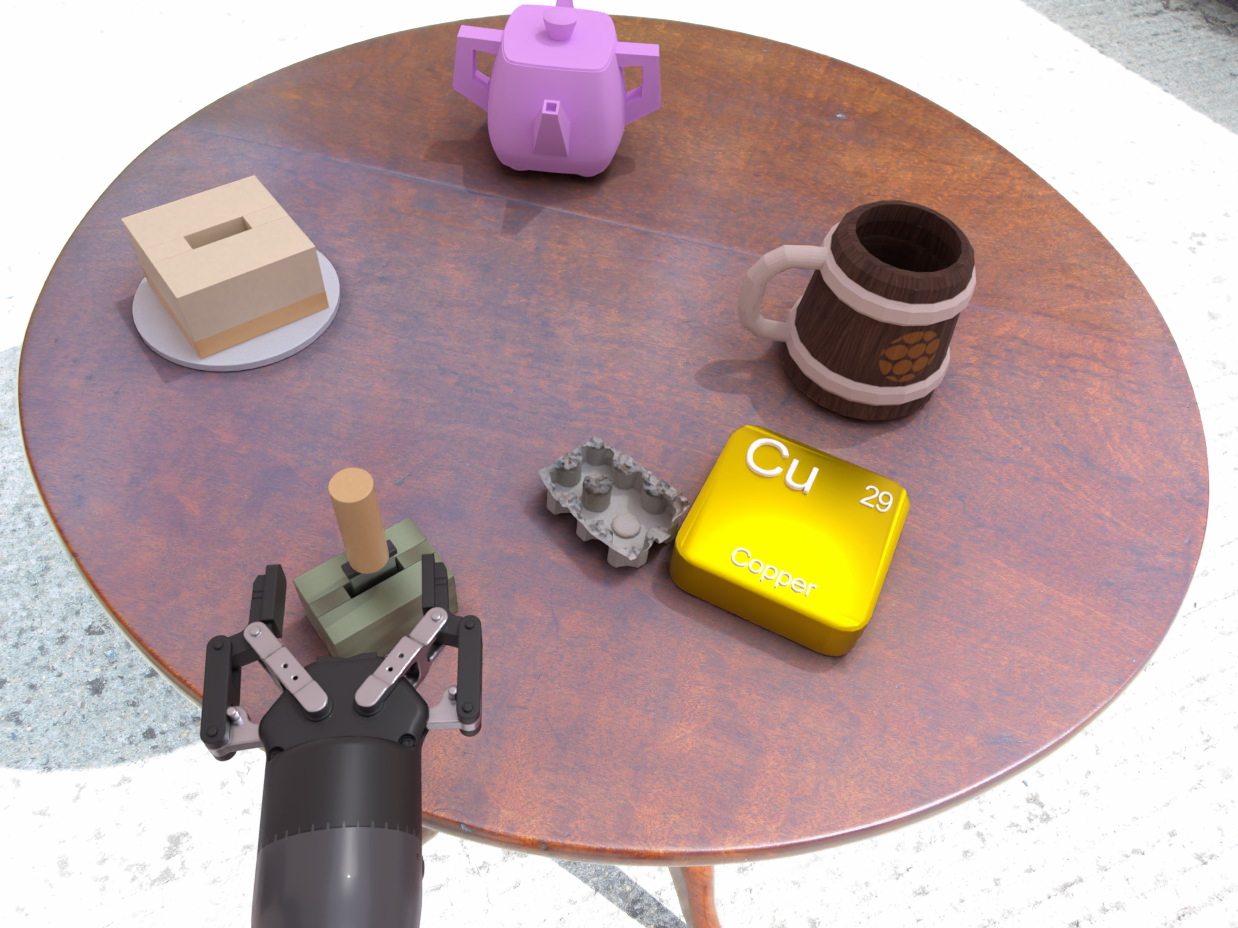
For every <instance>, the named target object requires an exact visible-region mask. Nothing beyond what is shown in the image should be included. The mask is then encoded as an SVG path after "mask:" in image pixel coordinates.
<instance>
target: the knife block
mask: <svg viewBox="0 0 1238 928" xmlns="http://www.w3.org/2000/svg"><path fill="white" fill-rule="evenodd" d="M384 532H385V537H386V541H387V540H389V539H390V540H391V542H392V543H393V544H394V546H395V547H396V549H397V554H396V555H394V558H395V563H396V567H397V572H398V573H397V574H395V575H394V576H392V577H390V578H388V579H386V580H385V581H383V582H381V583H379V584H377V585H376V586H374V587H372V588H370V589H369V590H367V591H365V592H363V593H361V594H360V595H358V596H356V597H354V595H353V592H352V588H351V585H350V582H349V579H348V578H347V577H346V575H345V574H344V572H343V571H342V568H341V565H343V564H344V563H346V562H348V557H347V554H346V550H345V551H343V552H341V553H339V554H338V555H336V556H333V557H332V558H330V559H327V560H326V561H324V562H323V563H320V564H319V565H317V566H315V567H313V568H311V569H309V570H307V571H305V572H304V573H301V574H300V575H298V576H296V577H294V578H293V579H292V582H293V585H294V588H295V590H296V593H297V596H298V599H299V601H300V603H301V606H302V609H303V611H304V613H305V616H306V618H307V619H308V621H309V622H310V624H311V625H312V627H313V629H314V630H315V632H316V633H317V635H318V636H319V638H320V640H321V641H322V642H323V644H324V646H325V647H326V649H327V651H328V652H329V654H330V656H334V657H341V658H349V657H352V656H355V655H358V654H361V653H371V652H377V655H378V656H381V657H384V656H385V655H388V654H389V653H390V652H391V651H392V650H393V649H394V647H395V646H396V645H397V644H398V642H399V641H400V640H401V639H402V638H403V637H404V636H405V635H409V634H410V633H411V632H412V630H413V629H414V628H415V627H416V626H417V624H418V623H419V622H420V621H421V619H422V618H423V617H424V616H423V611H422V554H433V553H434V557H435V563H436V562H443V563H444V565H445V567H446V569H447V575H448V587H449V610H450V612H451V613H452V614H455V613H457V612H458V611H459V607H458V606H459V605H458V604H459V603H458V595H457V589H456V579H455V574H454V573H453V571H452V570H451V569H450V568H449V566H448V564H446V563H445V561H444V560H443V558H442V557H441V556H440V554H439V553H438V552H437V550H436V549H435V548H434V546H433V545H432V544H431V542H430V541H429V540H428V539H427V538H426V536H425V534H424V533H423V532H422V530H421V529H420V528H419V527H418V525H417V524H416V523H415V522H414V520H413V519H412V517H410V516H409V517H407V518H405V519H403V520H400V521H399V522H397V523H395V524H393V525H391V526H390V527H388V528H385V529H384Z"/></svg>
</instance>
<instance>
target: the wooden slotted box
mask: <svg viewBox="0 0 1238 928" xmlns="http://www.w3.org/2000/svg"><path fill="white" fill-rule="evenodd" d="M120 220H121V222H122V225H123V227H124V230H125V232H126V234H127V237H128V239H129V241H130V244H131V246H132V249H133V251H134V253H135V256H136V259H137V260H138V263H139V266H140V268H141V271H142V273H143V275H144V277H146V280H147V282H148V283H149V285H150V286H151V288H152V289H153V290H154V292H155V293H156V295H157V296H158V298H159V299H160V301H161V302H162V304H163V305H164V306H165V308H166V309H167V311H168V312H169V314H170V315H171V317H172V318H173V320H174V321H175V323H176V324H177V325H178V327H179V328H180V330H181V331H182V333H183V334H184V336H185V337H186V339H187V340H188V341H189V343H190V344H191V346H192V347H193V349H194V350H195V352H196V353H197V355H198V356H199V358H200V359H203V358H206V357H208V356H211V355H213V354H216V353H218V352H221V351H223V350H225V349H228V348H230V347H233V346H235V345H238V344H240V343H243V342H245V341H248V340H250V339H252V338H255V337H257V336H260V335H262V334H265V333H267V332H270V331H272V330H275V329H277V328H280V327H282V326H284V325H287V324H289V323H292V322H294V321H297V320H299V319H302V318H304V317H307V316H309V315H312V314H314V313H316V312H319V311H321V310H324V309H326V308H329V304H328V300H327V295H326V291H325V287H324V282H323V278H322V273H321V269H320V264H319V260H318V255H317V251H316V249H317V246H316V245H315V244H314V243H313V242H312V241H311V239H310V238H309V237H308V236H307V234H306V233H305V232H304V231H303V230H302V229H301V228H300V226H299V225H298V224H297V223H296V221H294V220H293V218H292V217H291V216H290V215H289V214H288V213H287V211H286V210H285V209H284V208H283V206H282V205H281V204H280V203H279V202H278V201H277V200H276V199H275V197H274V196H273V195H272V194H271V193H270V192H269V190H268V189H267V188H266V186H265V185H263V183H262V182H261V181H260V179H259V178H257V176H256V175H255V174H254V175H250V176H247V177H244V178H241V179H238V180H235V181H233V182H232V181H231V182H228V183H225V184H222V185H219V186H216V187H213V188H211V189H207V190H204V191H201V192H198V193H195V194H192V195H188V196H186V197H183V198H180V199H177V200H176V199H175V200H174V201H170V202H168V203H164V204H162V205H159V206H155V207H152V208H149V209H146V210H143V211H140V212H137V213H133V214H131V215H128V216H125V217H121V219H120Z"/></svg>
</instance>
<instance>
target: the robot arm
mask: <svg viewBox="0 0 1238 928" xmlns="http://www.w3.org/2000/svg"><path fill="white" fill-rule="evenodd" d="M287 585H288V582H287V576H286V574H285V571H284V568H283V566H282V565H281V563H274V564H266V566H265V573H264V574H258V575H257V576H256V578H255V579H254V581H253V583H252V593H251V599H250V607H249V616H248V622H247V625H246V626H245V627H244V629H242V630H240V632H237V633H234V634H232V635H229V636H226V635H224V634H218V635H216V636H213V637H211V638H210V639H209V640H208V642H207V644H206V650H205V662H204V674H203V675H204V677H203V689H202V702H201V715H200V727H199V738H200V740H201V742H202V743H203V745H204V746H205V747H206V749H207V750H208V752H209V753H210V754H211V755H212V757H213V758H214V759H215V760H216V761H218V762H227V761H229V760H231V759H233V758H234V757H235V755H236V754H237V752H241V751H247V750H252V749H260V748H264V752H265V768H264V774H263V775H264V776H263V785H262V796H261V797H262V798H261V806H260V818H259V828H258V838H257V848H256V860H255V861H256V862H255V869H254V881H253V889H252V890H253V892H252V901H251V916H250V917H251V918H250V928H420V927H421V919H422V908H423V879H424V878H425V869H426V868H425V860H424V856H423V794H422V793H423V791H422V790H423V787H422V785H423V784H422V783H423V782H422V772H423V771H422V751H423V745H424V742H425V739H426V737H427V735H428V734H429V732H430V731H446V730H447V731H449V730H459V732H460V734H461V735H462V736H464V737H468V738H473V737H475V736H477V735H478V734H479V733H480V732H481V729H482V727H483V726H482V723H483V722H482V720H483V719H482V717H483V660H484V659H483V656H484V655H483V653H484V652H483V651H484V650H483V649H484V643H483V630H482V629H483V627H482V621H481V619H480V618H479V617H478V616H476V615H474V614H468V615H465V616H460V615H456V614H455V613H453V614H452V613H451V612H450V610H449V587H448V575H447V569H446V567H445V565H444V563H443V562H436V563H435V557H434V553H433V554H422V611H423V616H424V617H423V618H422V619H421V621H420V622H419V623H418V624H417V626H416V627H415V628H414V629H413V630H412V632H411V633H410V634H409V635H405V636H404V637H403V638H402V639H401V640H400V641H399V642H398V644H397V645H396V646H395V647H394V649H393V650H392V651H390V652H388V654H387V656H386V657H384V656H382V657H381V656H378V655H377V652H371V653H361V654H358V655H355V656H352V657H349V658H341V657H334V656H332V655H327V656H315V657H316V658H315V661H313V662H311V663H309V664H308V665H306V666H305V667H303V666H302V664H301V663H300V662H299V660H298V659H297V657H295V656H294V654H292V652H291V651H290V650H289V648H287V647H286V645H283V644H282V643H281V641H280V640H279V639H283V630H284V621H285V620H284V619H285V610H286V599H287V588H288V586H287ZM447 646H449V647H453V648H455V649H456V648H457V669H456V684H454V685H450V686H448V687H446V688H445V689H444V690H443V692H442V696H441V699H440V701H438V703H436V704H434V705H433V706H429V704H428V702H427V701H426V700H425V698H424V697H423V696H422V695H421V693H420V692H418V690H417V689H418V688H419V687H420V685H421V684H422V683H423V681H424V680H425V679H426V677H427V676H428V674H429V672H430V669H431V667H432V664H433V663H434V662H435V661H436V660H437V658H438V657H439V655H440V654H441V653H442V651H443V650H444V649H445V648H446V647H447ZM255 662H258V664H259V665H260V667H262V669H263V670H264V671H265V672H266V673H267V675H268V676H269V677H270V678H271V680H272V681H273V683H274V684H275V686H276V687H277V688H278V690H279V691H280V692H281V694H280V695H279V697H278V698H277V699H276V700H275V702H273V704H272V705H271V706H270V707H269V709H268V710H267V711H266V713H264V714H263V716H262V717H261V719H260V721H259V723H255V722H253V721H252V718H251V716H250V715H249V713H248V711H247V710H246V708H245V707H243V706H242V705H241V689H242V687H241V686H242V667H244V666H247V665H249V664H253V663H255Z"/></svg>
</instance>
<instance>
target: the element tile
mask: <svg viewBox="0 0 1238 928" xmlns="http://www.w3.org/2000/svg"><path fill="white" fill-rule="evenodd" d="M910 509H911V501H910V496H909V493H908V492H907V490H906V488H904V487H903V486H902V485H901V484H899V482H897V481H896V480H893V479H891V478H889V477H887V476H885V475H883V474H880V473H877V472H875V471H872V470H870V469H867V468H865V467H862V466H860V465H858V464H855V463H853V462H850V461H848V460H845V459H843V458H840V457H838V456H835V455H833V454H831V453H828V452H826V451H824V450H821V449H818V448H816V447H814V446H811V445H809V444H807V443H804V442H801V441H799V440H796V439H794V438H791V437H789V436H786V435H784V434H782V433H779V432H777V431H774V430H772V429H769V428H766V427H764V426H760V425H755V424H746V425H742V426H739V427H738V428H736V429H735V430H734V431H733V432H732V433H731V434H730V436H729V437H728V439H727V441H726V443H725V445H724V447H723V448H722V450H721V452H720V454H719V456H718V458H717V460H716V461H715V463H714V465H713V466H712V468H711V471H710V472H709V474H708V476H707V478H706V480H705V482H704V484H703V485H702V487H701V489H700V491H699V493H698V494H697V496H696V498H695V500H694V502H693V503H692V506H691V507H690V509H689V510H688V513H687V515H686V516H685V518H684V520H683V522H682V524H681V525H680V527H679V529H678V531H677V532H676V535H675V540H674V544H673V548H672V553H671V558H670V563H669V575H670V578H671V580H672V581H673V583H674V584H675V585H676V586H677V587H678V588H679V589H680V590H682V591H684V592H686V593H687V594H690V595H692V596H694V597H696V598H698V599H700V600H703V601H705V602H707V603H709V604H711V605H714V606H716V607H717V608H720V609H722V610H724V611H727V612H729V613H731V614H733V615H736V616H738V617H739V618H742V619H744V620H747V621H748V622H751V623H753V624H755V625H758V626H759V627H762V628H765V629H766V630H768V631H770V632H773V633H774V634H777V635H779V636H781V637H783V638H785V639H788V640H790V641H792V642H795V643H797V644H798V645H801V646H803V647H805V648H807V649H810V650H811V651H814V652H817V653H818V654H821V655H825V656H830V657H840V656H843V655H846V654H848V653H849V652H850V651H852V649H854V648H855V646H856V644H857V643H858V641H859V640H860V638H861V636H862V635H863V633H864V631H865V629H866V628H867V626H868V625H869V623H870V621H871V620H872V617H873V615H874V612H875V609H876V607H877V603H878V600H879V598H880V595H881V592H882V590H883V586H884V583H885V581H886V578H887V575H888V572H889V569H890V567H891V564H892V560H893V559H894V554H895V552H896V549H897V546H898V544H899V540H900V537H901V536H902V532H903V529H904V526H905V524H906V520H907V518H908V515H909V513H910V511H911V510H910Z"/></svg>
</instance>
